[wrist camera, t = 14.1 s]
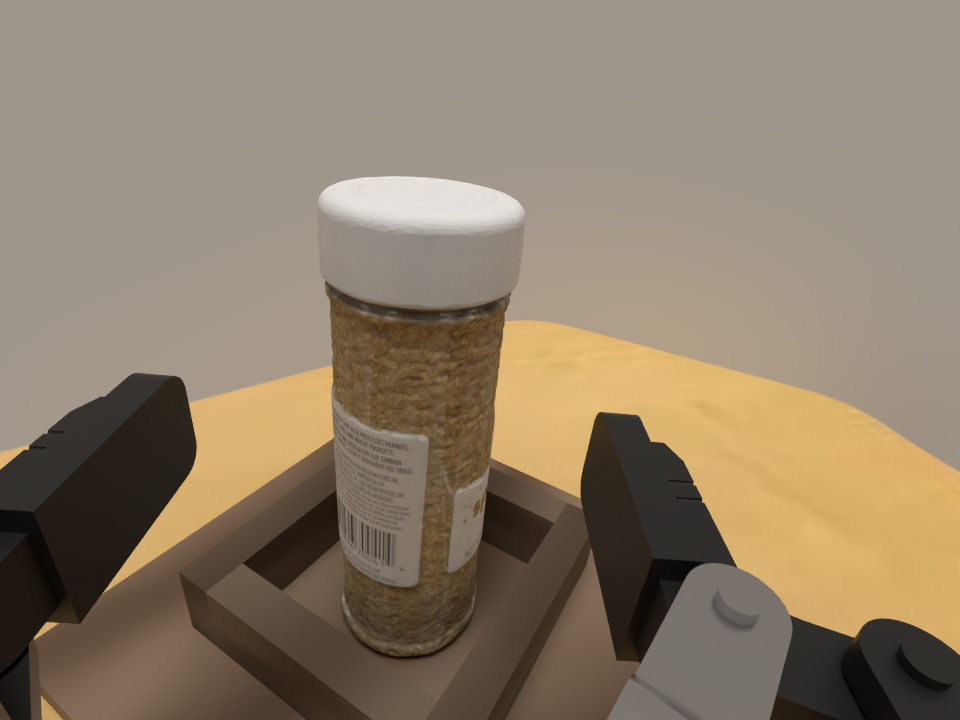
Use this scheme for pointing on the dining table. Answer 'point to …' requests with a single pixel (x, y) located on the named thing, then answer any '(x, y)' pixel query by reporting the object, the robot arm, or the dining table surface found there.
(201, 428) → the dining table surface
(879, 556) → the dining table surface
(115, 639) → the walnut stand
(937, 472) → the dining table surface
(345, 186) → the spice jar
